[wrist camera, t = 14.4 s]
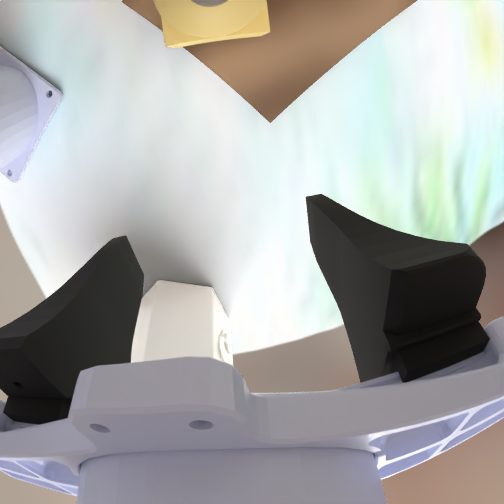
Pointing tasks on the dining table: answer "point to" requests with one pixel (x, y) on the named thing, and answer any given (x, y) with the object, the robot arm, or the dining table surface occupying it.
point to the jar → (181, 324)
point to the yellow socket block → (211, 20)
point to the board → (288, 46)
